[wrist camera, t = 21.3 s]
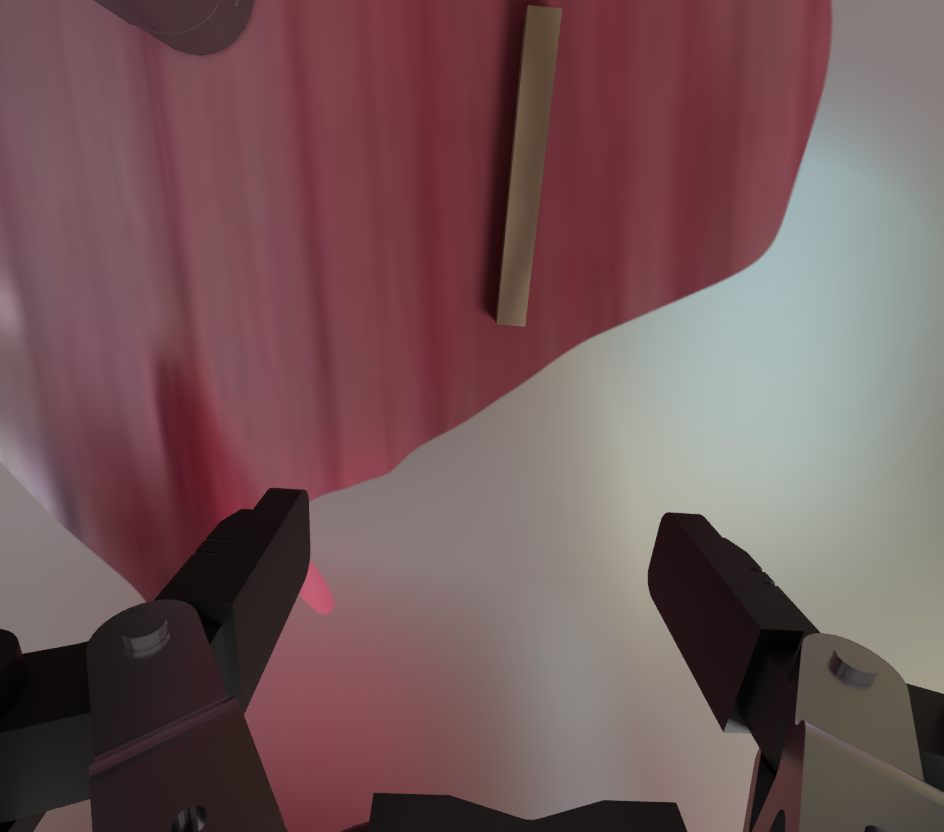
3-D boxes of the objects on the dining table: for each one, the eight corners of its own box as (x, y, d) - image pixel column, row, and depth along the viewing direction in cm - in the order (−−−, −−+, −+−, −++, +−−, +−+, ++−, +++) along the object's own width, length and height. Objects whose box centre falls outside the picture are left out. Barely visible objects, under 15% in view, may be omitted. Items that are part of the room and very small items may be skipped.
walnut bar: (494, 320, 43) (496, 324, 41) (523, 19, 36) (527, 4, 34) (521, 322, 43) (524, 326, 41) (556, 23, 36) (562, 8, 34)
